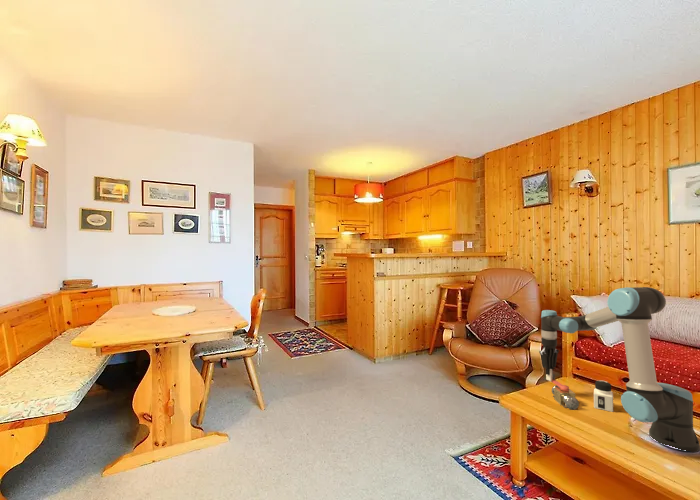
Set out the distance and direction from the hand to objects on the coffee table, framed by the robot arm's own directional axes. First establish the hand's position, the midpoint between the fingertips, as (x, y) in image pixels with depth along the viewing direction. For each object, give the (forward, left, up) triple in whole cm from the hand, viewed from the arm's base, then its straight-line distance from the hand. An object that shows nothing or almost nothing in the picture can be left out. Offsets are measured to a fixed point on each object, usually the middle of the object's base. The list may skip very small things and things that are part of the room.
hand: (549, 380), depth 185 cm
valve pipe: (-10, -3, -8) cm, 13 cm away
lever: (-4, -3, -1) cm, 5 cm away
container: (-13, -20, -8) cm, 25 cm away
